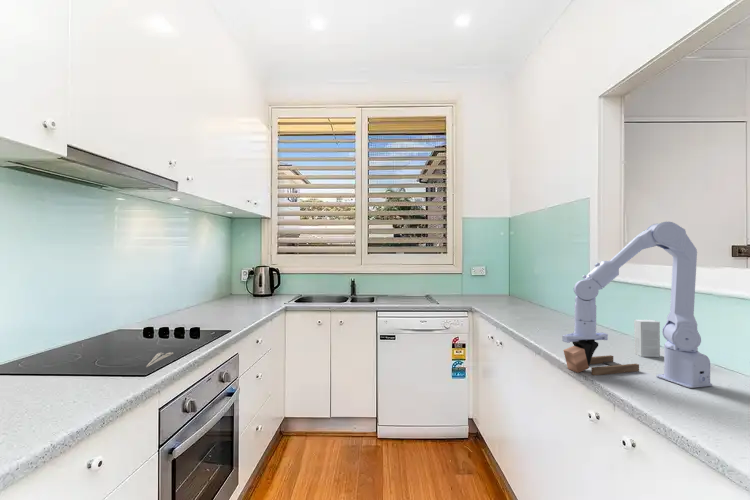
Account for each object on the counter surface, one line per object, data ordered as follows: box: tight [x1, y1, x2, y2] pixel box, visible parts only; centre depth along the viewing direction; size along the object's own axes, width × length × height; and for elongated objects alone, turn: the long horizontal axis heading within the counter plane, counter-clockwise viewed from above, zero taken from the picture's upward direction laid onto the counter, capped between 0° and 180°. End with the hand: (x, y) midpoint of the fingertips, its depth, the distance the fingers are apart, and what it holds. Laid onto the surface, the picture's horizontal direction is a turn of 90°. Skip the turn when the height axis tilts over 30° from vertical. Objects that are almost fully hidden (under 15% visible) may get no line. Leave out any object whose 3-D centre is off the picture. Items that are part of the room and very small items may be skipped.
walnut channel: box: [590, 354, 640, 376], centre depth 115 cm, size 10×16×2 cm, turn 104°
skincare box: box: [633, 319, 661, 358], centre depth 129 cm, size 6×4×12 cm
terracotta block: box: [562, 345, 590, 374], centre depth 113 cm, size 4×4×6 cm
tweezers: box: [146, 352, 174, 368], centre depth 121 cm, size 18×5×2 cm, turn 6°
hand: (585, 364), depth 114 cm, fingers closed
